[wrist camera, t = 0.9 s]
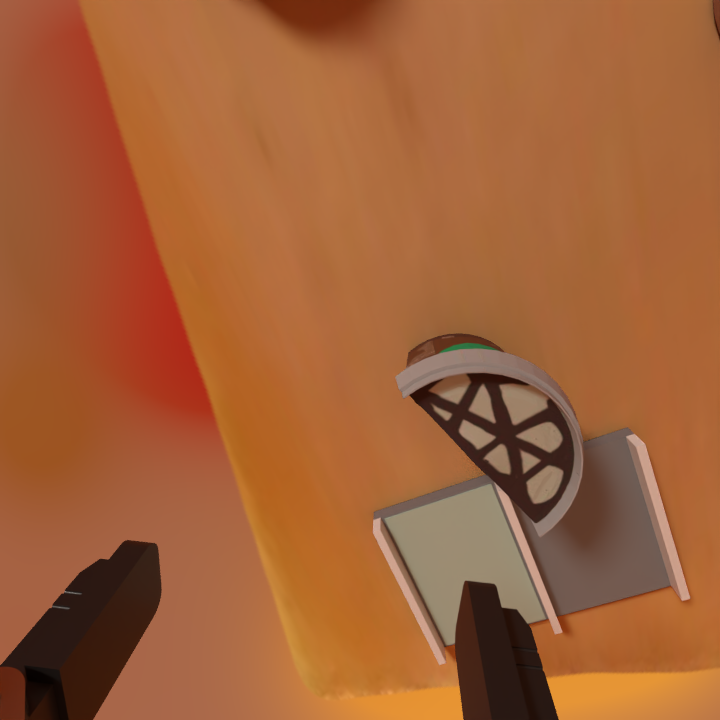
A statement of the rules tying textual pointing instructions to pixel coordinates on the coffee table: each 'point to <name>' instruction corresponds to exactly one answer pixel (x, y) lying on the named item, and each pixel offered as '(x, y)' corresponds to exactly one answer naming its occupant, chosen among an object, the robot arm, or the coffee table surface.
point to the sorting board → (534, 544)
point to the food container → (502, 420)
